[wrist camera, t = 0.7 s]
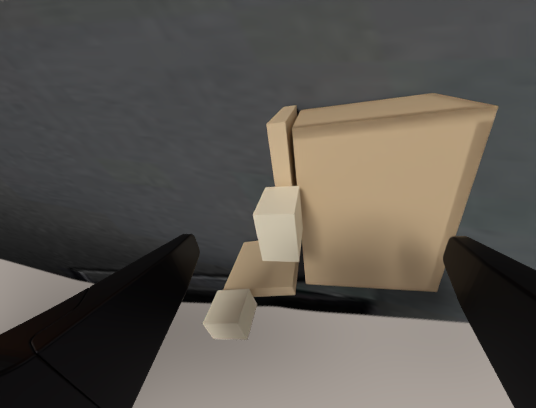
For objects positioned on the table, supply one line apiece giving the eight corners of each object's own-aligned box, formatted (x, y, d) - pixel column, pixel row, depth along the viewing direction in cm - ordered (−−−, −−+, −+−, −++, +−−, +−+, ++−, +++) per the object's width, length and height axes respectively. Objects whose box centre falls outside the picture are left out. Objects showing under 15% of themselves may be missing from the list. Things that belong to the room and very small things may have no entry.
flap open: (241, 239, 25) (202, 323, 17) (297, 231, 23) (284, 323, 15) (247, 252, 26) (213, 339, 18) (302, 246, 24) (292, 340, 16)
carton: (433, 93, 15) (498, 105, 10) (406, 233, 21) (436, 292, 15) (300, 109, 17) (291, 128, 12) (309, 233, 23) (305, 284, 18)
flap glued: (303, 104, 17) (286, 137, 9) (307, 182, 20) (299, 262, 12) (277, 107, 17) (237, 142, 9) (285, 183, 21) (262, 260, 12)
